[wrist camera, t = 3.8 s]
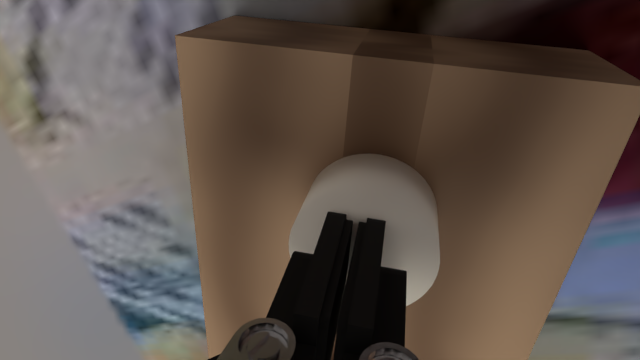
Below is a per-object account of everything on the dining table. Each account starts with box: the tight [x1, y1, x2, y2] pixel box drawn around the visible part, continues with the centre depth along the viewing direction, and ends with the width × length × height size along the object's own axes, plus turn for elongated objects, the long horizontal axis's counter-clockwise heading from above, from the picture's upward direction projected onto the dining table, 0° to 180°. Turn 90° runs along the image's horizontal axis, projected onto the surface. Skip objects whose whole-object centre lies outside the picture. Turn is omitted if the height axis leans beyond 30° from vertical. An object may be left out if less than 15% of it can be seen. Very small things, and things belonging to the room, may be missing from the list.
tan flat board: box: [175, 16, 640, 360], centre depth 22 cm, size 14×30×5 cm, turn 177°
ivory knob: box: [289, 154, 440, 306], centre depth 15 cm, size 4×4×6 cm
